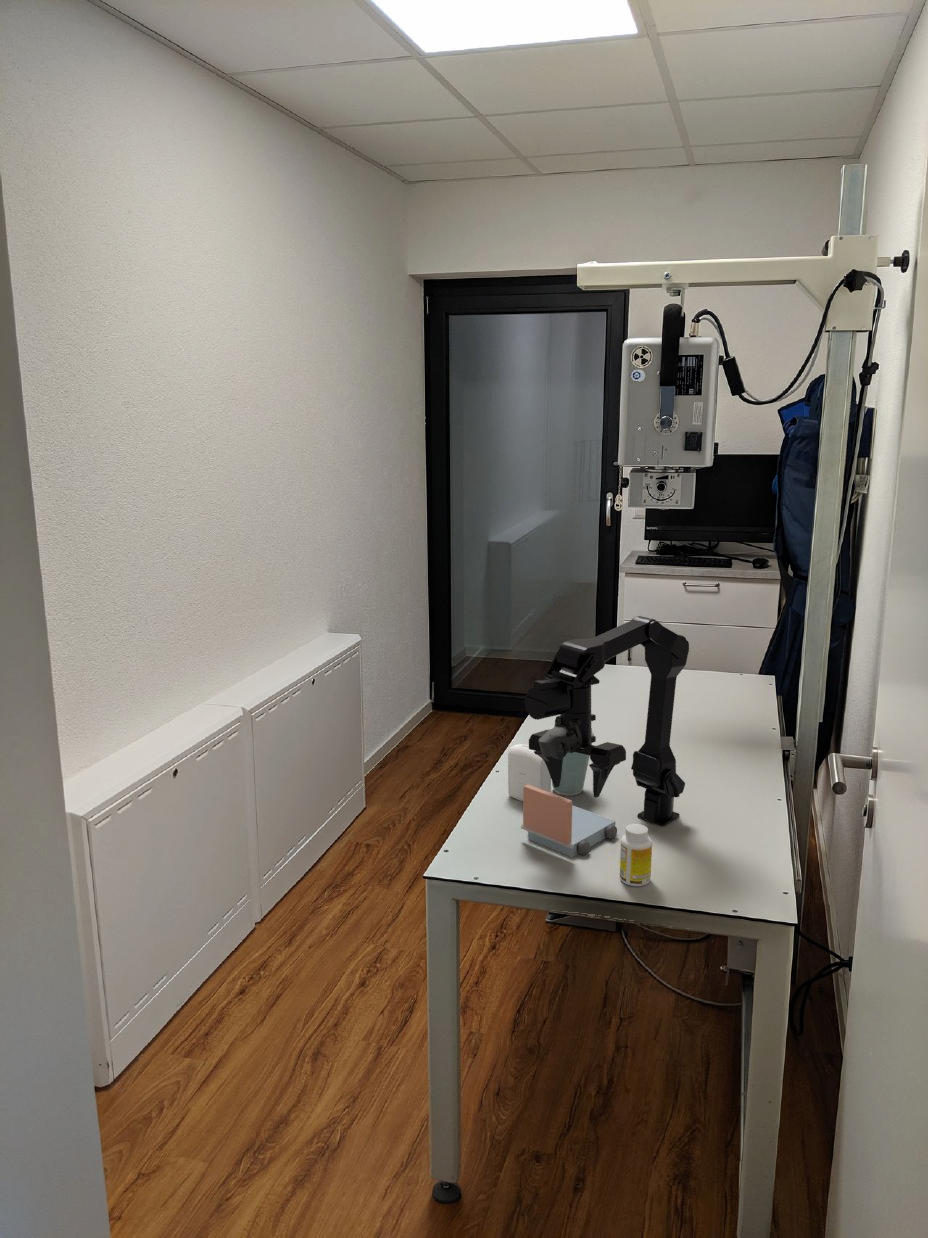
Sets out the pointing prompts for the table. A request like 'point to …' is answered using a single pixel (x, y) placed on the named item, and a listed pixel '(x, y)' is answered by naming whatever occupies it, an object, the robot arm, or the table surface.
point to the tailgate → (547, 815)
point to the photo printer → (526, 771)
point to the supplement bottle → (636, 856)
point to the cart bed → (582, 832)
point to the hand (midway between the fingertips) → (576, 792)
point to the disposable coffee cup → (572, 772)
